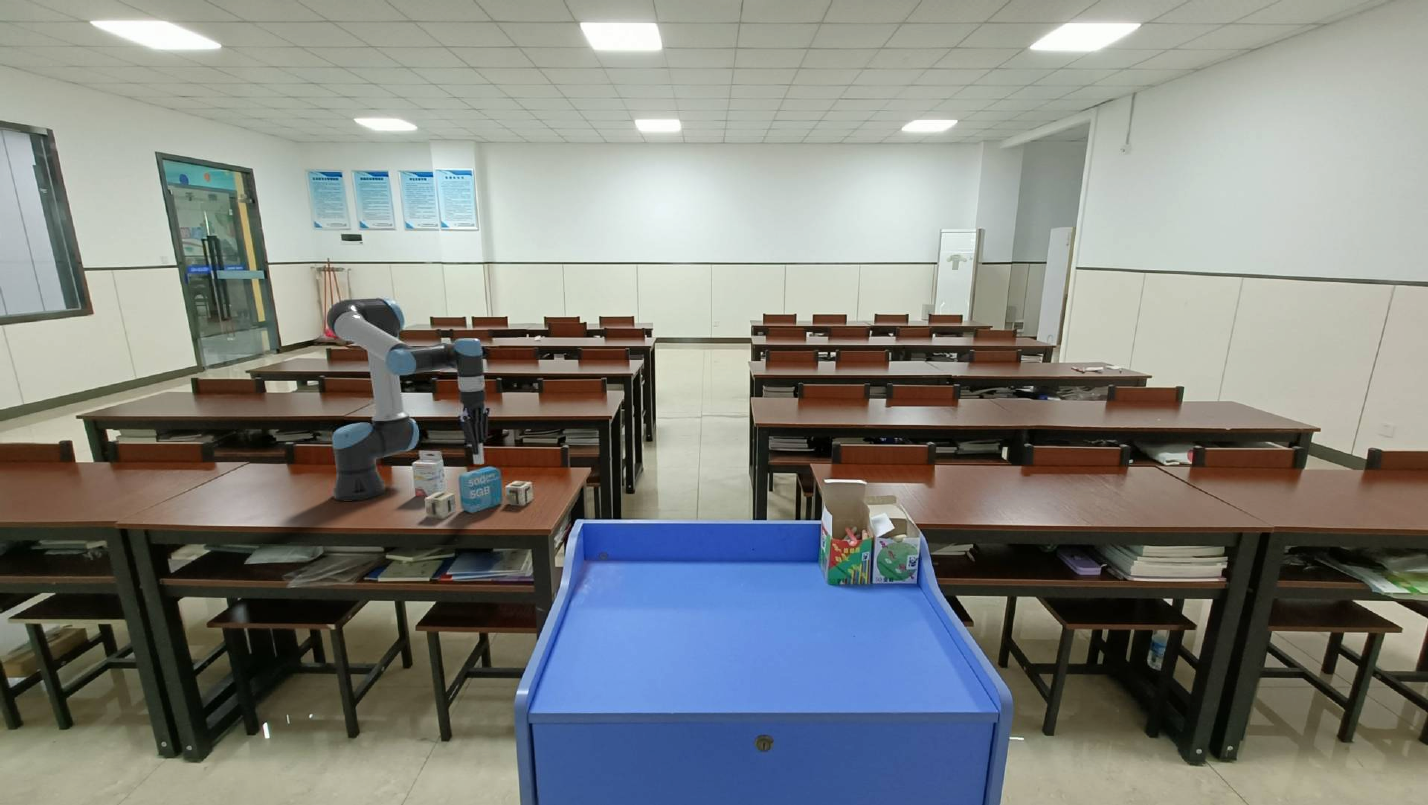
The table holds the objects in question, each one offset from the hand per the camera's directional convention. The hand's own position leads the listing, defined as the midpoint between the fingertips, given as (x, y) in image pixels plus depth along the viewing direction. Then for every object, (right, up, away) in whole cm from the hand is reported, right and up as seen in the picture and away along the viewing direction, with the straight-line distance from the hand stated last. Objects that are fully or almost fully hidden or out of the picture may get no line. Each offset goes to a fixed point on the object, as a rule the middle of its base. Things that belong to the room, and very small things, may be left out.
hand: (479, 463), depth 194 cm
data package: (0, -14, +3) cm, 15 cm away
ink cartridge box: (-22, -12, +15) cm, 29 cm away
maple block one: (-11, -16, -2) cm, 19 cm away
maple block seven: (+10, -13, +8) cm, 19 cm away
